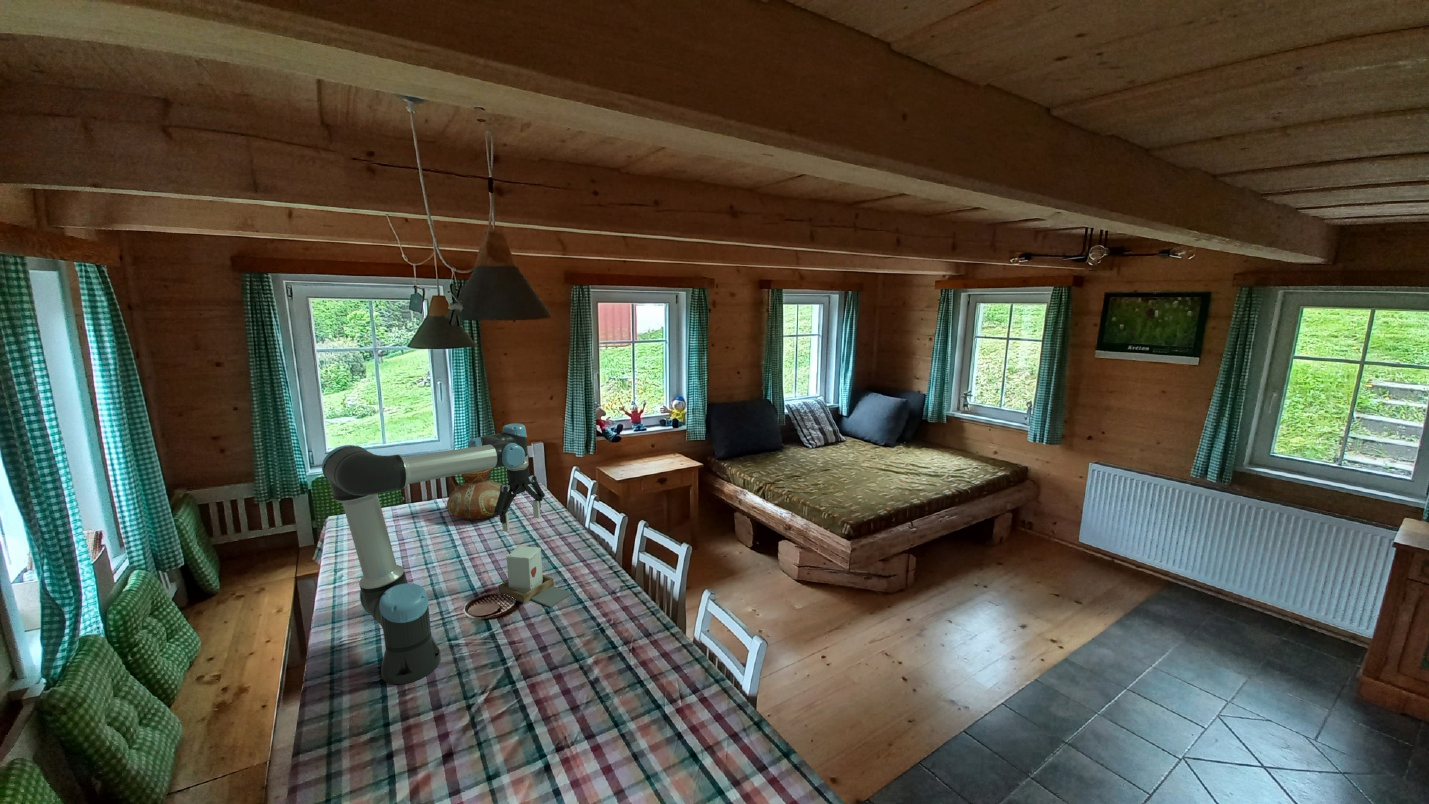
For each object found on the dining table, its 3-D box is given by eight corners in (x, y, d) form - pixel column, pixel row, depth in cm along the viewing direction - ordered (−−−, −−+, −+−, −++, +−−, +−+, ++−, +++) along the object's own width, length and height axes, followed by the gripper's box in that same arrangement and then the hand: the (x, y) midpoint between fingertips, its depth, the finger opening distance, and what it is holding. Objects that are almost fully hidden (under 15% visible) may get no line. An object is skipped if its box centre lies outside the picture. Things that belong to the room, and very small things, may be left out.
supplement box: (531, 597, 193) (528, 558, 190) (508, 594, 195) (505, 556, 192) (544, 584, 202) (541, 547, 199) (522, 582, 204) (519, 545, 201)
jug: (502, 498, 290) (498, 453, 286) (523, 514, 267) (519, 466, 263) (442, 511, 272) (437, 464, 267) (458, 531, 249) (453, 479, 244)
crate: (524, 603, 189) (523, 595, 189) (498, 593, 196) (498, 585, 195) (553, 586, 201) (553, 578, 200) (528, 576, 208) (528, 569, 207)
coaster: (550, 607, 186) (550, 606, 186) (531, 599, 191) (530, 598, 191) (572, 594, 195) (572, 593, 195) (552, 587, 200) (552, 585, 200)
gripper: (494, 479, 177) (499, 539, 181) (552, 460, 198) (555, 514, 202) (479, 475, 181) (485, 534, 185) (538, 457, 202) (541, 510, 206)
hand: (522, 524), depth 194 cm, fingers open, 13 cm apart
